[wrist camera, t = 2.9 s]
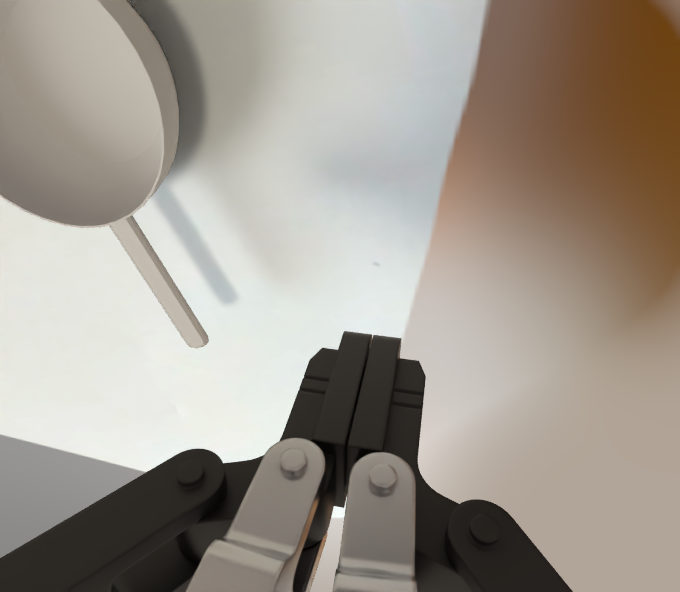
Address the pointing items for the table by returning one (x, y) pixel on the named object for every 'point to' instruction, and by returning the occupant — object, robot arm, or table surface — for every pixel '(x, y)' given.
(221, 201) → the table surface
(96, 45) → the saucepan
